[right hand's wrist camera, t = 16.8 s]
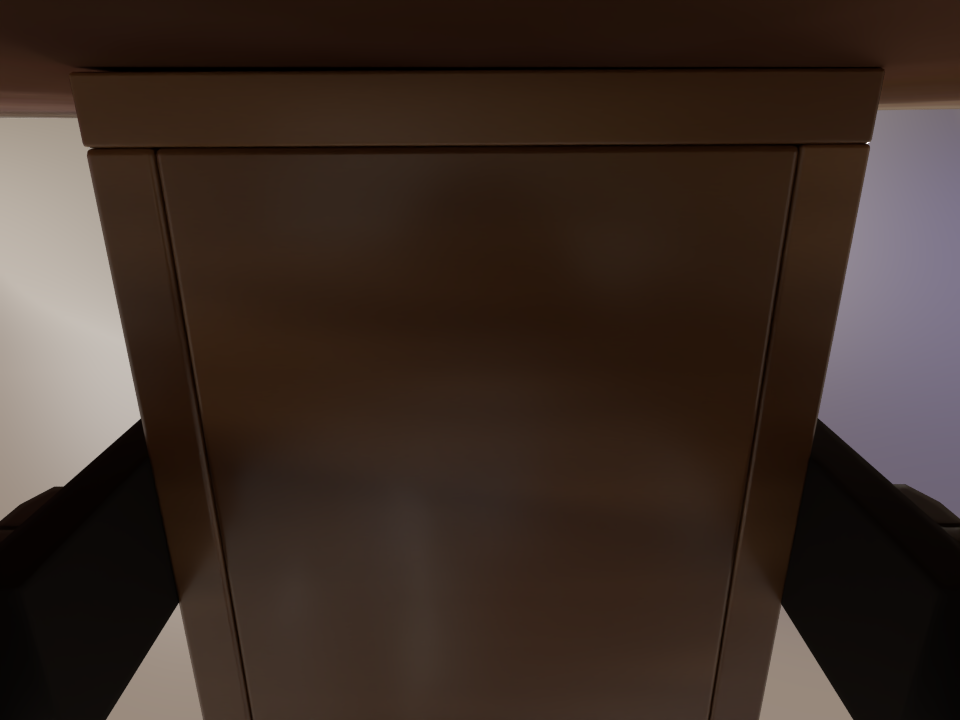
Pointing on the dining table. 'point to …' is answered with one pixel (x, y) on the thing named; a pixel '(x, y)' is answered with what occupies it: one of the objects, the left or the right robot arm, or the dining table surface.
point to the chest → (479, 374)
